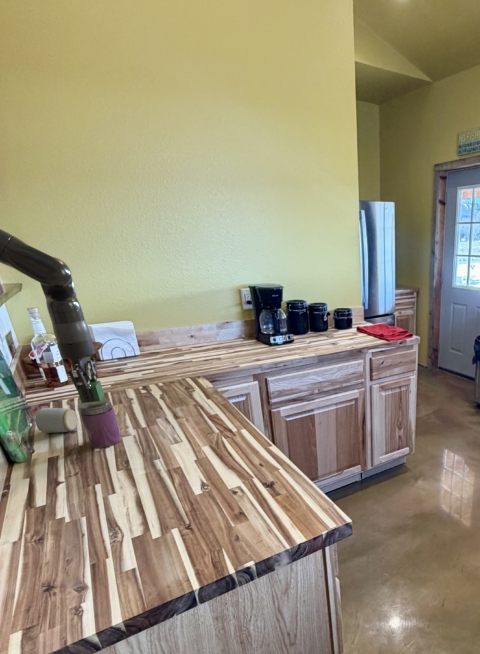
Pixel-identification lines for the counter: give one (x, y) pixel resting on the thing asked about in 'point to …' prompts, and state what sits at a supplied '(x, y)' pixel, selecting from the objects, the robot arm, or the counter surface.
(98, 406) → the jar lid
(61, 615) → the counter surface
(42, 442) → the counter surface
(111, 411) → the jar
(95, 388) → the block
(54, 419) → the grey canister
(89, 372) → the robot arm
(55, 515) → the counter surface
